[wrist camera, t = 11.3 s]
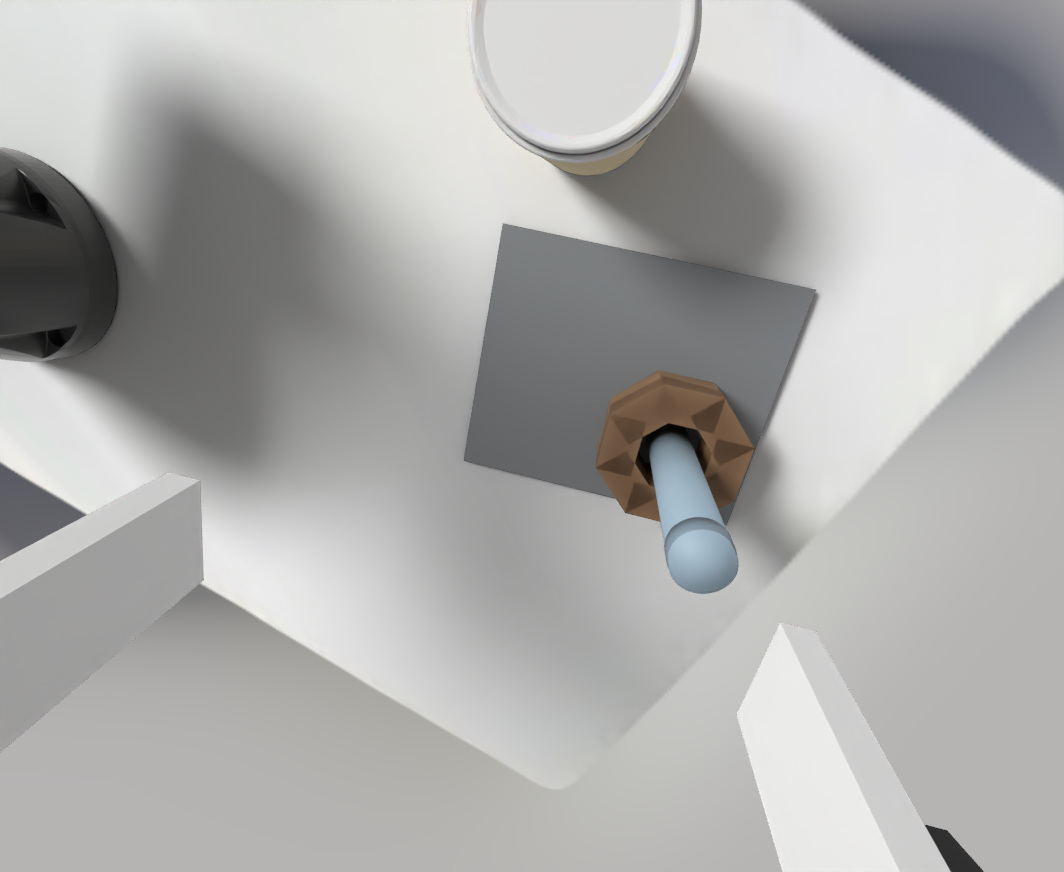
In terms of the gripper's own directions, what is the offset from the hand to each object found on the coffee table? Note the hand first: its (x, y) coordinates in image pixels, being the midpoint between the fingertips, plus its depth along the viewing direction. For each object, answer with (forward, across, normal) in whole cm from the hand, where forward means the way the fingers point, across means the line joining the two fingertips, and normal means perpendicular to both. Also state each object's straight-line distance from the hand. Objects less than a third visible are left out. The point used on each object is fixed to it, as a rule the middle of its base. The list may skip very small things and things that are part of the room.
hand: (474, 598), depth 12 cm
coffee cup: (+27, -1, +15) cm, 31 cm away
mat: (+26, +5, -1) cm, 27 cm away
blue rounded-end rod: (+26, +9, -4) cm, 27 cm away
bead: (+26, +9, -4) cm, 27 cm away
